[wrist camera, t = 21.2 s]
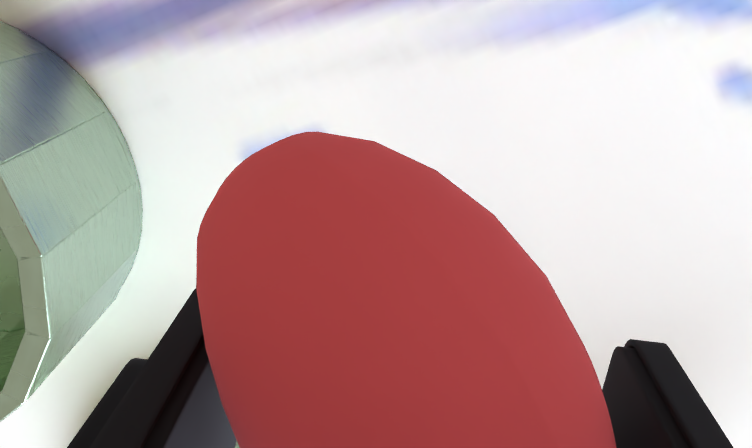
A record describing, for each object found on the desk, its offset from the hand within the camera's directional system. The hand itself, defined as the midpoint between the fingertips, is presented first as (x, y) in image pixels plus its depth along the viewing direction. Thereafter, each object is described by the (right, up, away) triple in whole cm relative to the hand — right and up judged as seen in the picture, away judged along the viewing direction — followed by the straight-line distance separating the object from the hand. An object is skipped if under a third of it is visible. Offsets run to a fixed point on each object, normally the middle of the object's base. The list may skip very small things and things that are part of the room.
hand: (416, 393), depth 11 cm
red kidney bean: (0, 0, +1) cm, 1 cm away
